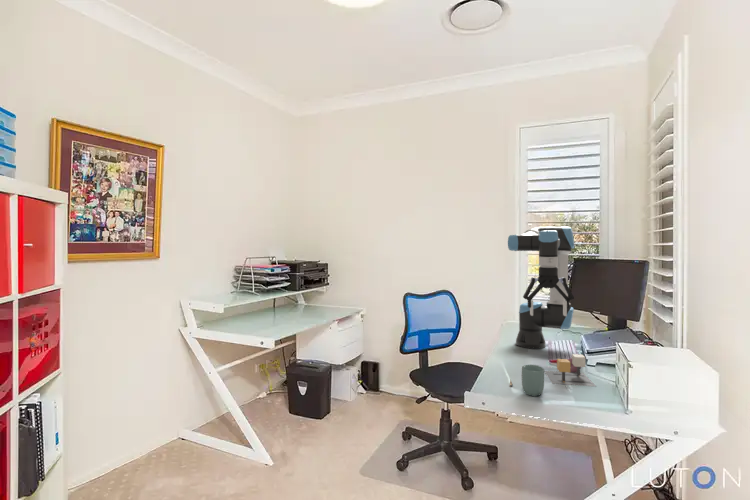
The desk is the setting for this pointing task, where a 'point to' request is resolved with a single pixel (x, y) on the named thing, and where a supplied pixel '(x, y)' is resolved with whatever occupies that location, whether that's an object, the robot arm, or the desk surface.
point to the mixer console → (569, 378)
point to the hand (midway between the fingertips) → (548, 315)
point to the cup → (532, 379)
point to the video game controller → (572, 366)
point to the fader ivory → (578, 362)
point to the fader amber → (563, 367)
